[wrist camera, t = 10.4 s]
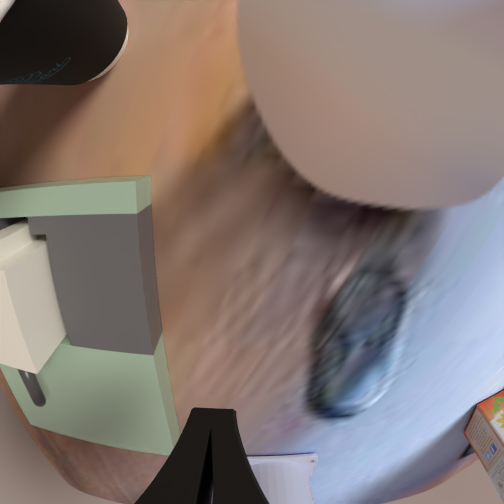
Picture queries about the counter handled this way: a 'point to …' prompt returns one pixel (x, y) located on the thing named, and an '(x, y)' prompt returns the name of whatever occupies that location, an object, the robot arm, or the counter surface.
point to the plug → (28, 306)
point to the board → (99, 314)
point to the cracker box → (489, 438)
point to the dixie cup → (60, 40)
